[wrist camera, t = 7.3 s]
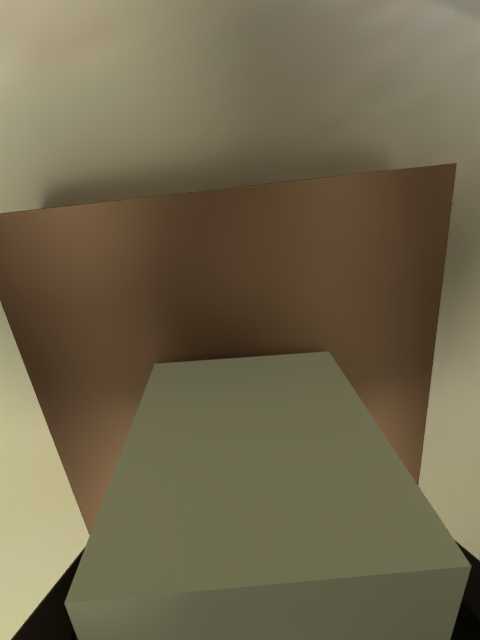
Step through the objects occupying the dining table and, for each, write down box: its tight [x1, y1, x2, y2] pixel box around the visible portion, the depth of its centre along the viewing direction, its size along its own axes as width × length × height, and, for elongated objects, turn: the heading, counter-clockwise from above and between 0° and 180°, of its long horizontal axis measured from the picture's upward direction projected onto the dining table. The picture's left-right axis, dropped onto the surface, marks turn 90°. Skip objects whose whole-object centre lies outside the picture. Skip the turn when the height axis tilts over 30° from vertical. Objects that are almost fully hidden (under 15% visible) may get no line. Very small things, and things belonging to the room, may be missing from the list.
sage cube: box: [64, 351, 471, 640], centre depth 8 cm, size 5×5×6 cm
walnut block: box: [0, 163, 456, 535], centre depth 13 cm, size 12×14×4 cm
